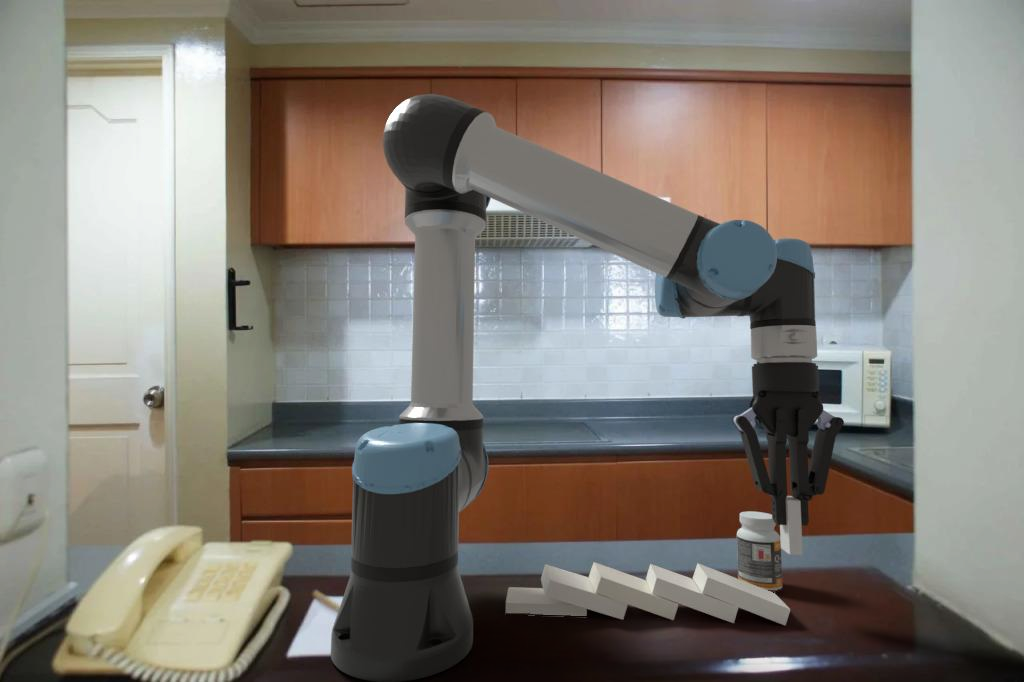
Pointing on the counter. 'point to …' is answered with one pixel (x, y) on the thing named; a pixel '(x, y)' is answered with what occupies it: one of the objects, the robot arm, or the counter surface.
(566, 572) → the domino
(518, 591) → the domino
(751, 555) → the pill bottle
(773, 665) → the counter surface
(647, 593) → the domino
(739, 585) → the domino
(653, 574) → the domino
